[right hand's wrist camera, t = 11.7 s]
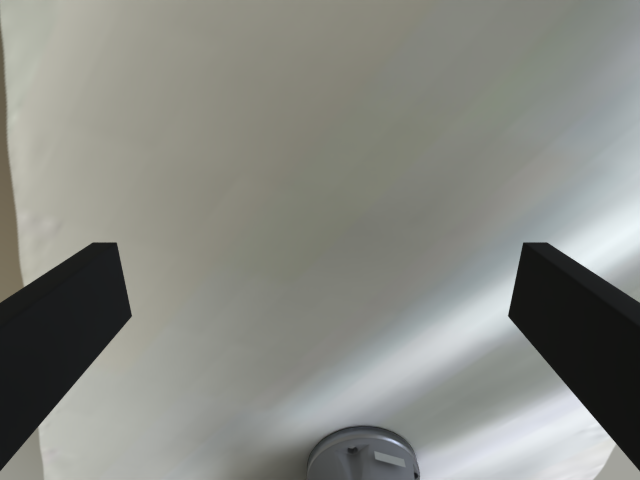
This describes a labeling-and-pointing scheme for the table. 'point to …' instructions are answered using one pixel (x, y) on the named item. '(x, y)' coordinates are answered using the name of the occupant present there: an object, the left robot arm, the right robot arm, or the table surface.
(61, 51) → the table surface
